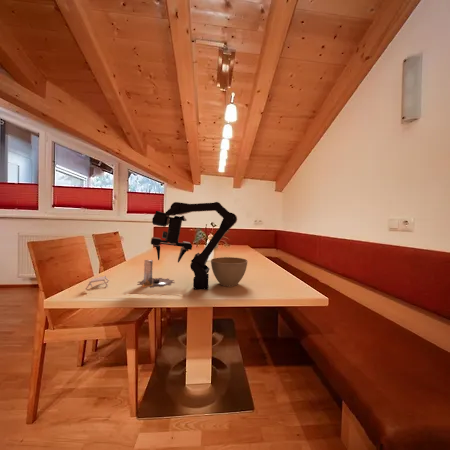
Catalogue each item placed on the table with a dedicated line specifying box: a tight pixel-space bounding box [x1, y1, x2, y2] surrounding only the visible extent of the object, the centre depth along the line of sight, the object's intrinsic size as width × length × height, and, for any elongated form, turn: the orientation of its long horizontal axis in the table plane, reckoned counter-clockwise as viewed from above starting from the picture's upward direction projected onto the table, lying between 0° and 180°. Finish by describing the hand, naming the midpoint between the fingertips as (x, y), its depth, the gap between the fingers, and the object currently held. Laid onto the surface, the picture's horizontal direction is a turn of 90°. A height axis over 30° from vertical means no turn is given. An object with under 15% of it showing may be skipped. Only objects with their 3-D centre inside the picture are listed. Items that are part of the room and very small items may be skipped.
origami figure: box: [85, 275, 110, 291], centre depth 105 cm, size 12×8×5 cm
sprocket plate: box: [137, 277, 176, 289], centre depth 114 cm, size 17×17×3 cm
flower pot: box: [210, 256, 248, 287], centre depth 119 cm, size 18×18×12 cm
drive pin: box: [143, 259, 154, 287], centre depth 109 cm, size 4×4×11 cm
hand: (168, 261), depth 113 cm, fingers open, 9 cm apart
